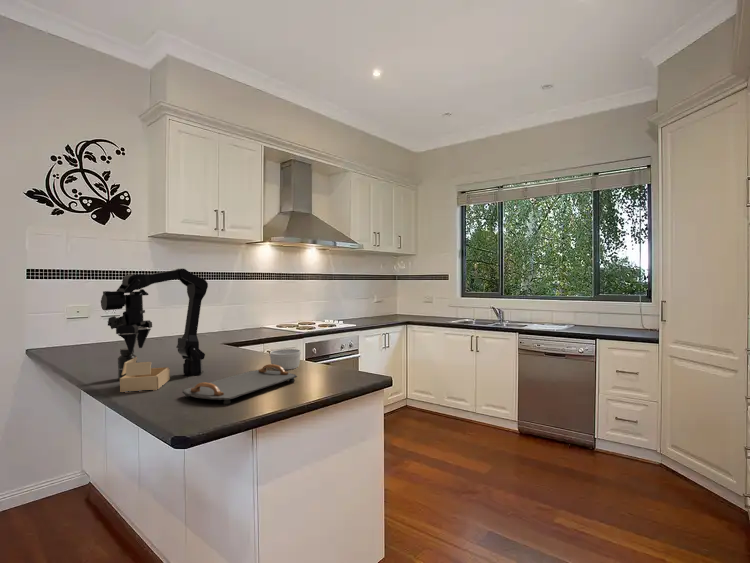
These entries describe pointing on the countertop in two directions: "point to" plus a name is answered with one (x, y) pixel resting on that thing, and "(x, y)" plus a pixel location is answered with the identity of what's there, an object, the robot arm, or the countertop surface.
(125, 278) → the robot arm
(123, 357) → the supplement bottle
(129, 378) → the carton
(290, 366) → the ramekin
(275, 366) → the serving board
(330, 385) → the countertop surface
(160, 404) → the countertop surface
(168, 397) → the countertop surface
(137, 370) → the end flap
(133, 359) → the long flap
